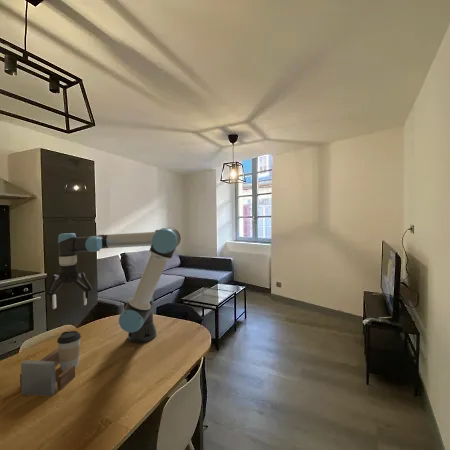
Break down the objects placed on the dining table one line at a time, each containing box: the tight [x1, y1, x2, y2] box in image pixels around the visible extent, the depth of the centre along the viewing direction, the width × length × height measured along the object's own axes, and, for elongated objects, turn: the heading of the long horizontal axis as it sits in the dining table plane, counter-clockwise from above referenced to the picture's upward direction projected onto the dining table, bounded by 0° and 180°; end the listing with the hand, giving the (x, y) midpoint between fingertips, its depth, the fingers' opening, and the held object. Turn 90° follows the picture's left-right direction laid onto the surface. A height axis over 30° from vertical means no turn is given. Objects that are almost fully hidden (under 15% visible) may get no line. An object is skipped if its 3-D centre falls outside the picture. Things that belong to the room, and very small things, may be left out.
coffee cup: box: [57, 330, 82, 372], centre depth 112 cm, size 9×9×15 cm
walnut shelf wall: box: [19, 348, 76, 391], centre depth 106 cm, size 16×19×6 cm
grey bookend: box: [20, 359, 57, 397], centre depth 95 cm, size 12×2×12 cm, turn 85°
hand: (70, 306), depth 126 cm, fingers open, 13 cm apart
